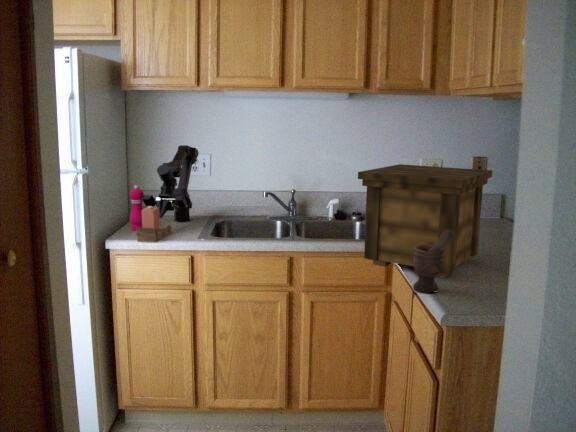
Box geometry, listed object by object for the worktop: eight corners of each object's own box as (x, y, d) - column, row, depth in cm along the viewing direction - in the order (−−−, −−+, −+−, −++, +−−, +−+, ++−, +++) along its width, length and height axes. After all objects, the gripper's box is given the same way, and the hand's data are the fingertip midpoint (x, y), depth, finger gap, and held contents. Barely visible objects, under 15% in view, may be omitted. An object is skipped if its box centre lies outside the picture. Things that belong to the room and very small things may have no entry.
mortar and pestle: (454, 290, 157) (459, 225, 153) (447, 298, 149) (452, 231, 146) (416, 283, 162) (420, 221, 159) (407, 291, 155) (411, 226, 151)
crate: (454, 284, 162) (462, 180, 156) (354, 265, 182) (358, 172, 176) (485, 259, 190) (492, 170, 184) (395, 245, 210) (399, 164, 204)
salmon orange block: (148, 230, 220) (147, 204, 218) (159, 231, 219) (158, 205, 217) (142, 233, 214) (141, 207, 212) (154, 234, 213) (153, 207, 211)
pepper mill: (136, 231, 230) (134, 186, 226) (126, 229, 235) (124, 185, 231) (149, 228, 236) (147, 185, 232) (139, 226, 240) (137, 183, 236)
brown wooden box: (153, 232, 229) (153, 219, 228) (171, 232, 228) (170, 220, 227) (137, 241, 213) (136, 228, 212) (156, 242, 212) (155, 229, 210)
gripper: (192, 199, 240) (185, 228, 231) (154, 197, 242) (145, 226, 234) (186, 184, 230) (179, 214, 222) (146, 183, 233) (137, 212, 224)
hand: (160, 217), depth 226 cm, fingers closed
